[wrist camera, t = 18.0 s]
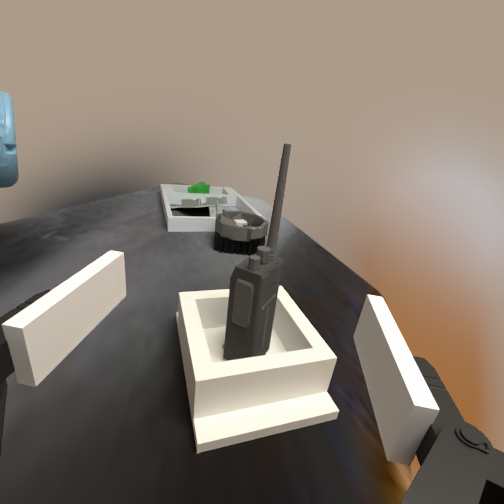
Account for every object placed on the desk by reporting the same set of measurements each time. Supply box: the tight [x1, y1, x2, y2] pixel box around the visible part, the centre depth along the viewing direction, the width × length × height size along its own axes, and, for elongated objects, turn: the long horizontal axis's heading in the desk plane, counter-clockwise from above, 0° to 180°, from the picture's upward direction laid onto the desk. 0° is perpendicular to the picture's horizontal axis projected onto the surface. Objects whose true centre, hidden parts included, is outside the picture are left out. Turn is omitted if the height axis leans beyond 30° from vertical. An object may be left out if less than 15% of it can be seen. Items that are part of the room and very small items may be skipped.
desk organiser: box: [160, 184, 266, 232], centre depth 76 cm, size 30×21×3 cm
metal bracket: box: [170, 196, 234, 217], centre depth 75 cm, size 14×6×15 cm
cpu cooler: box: [214, 211, 268, 255], centre depth 58 cm, size 10×6×10 cm
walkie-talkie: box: [223, 144, 291, 361], centre depth 26 cm, size 5×3×20 cm
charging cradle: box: [176, 286, 339, 453], centre depth 30 cm, size 16×12×5 cm
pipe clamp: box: [188, 182, 210, 194], centre depth 84 cm, size 10×4×4 cm, turn 168°
